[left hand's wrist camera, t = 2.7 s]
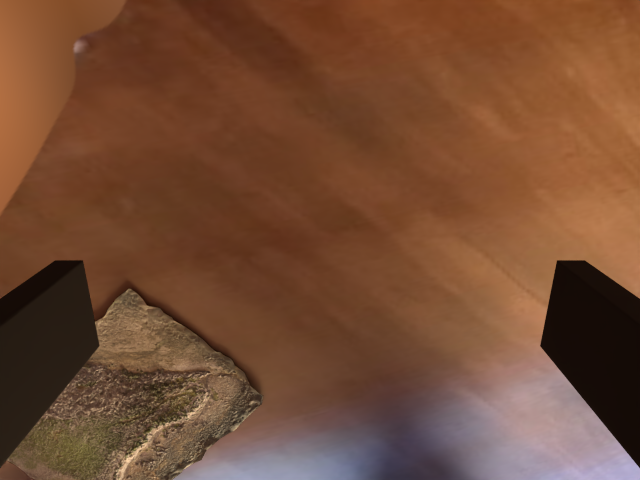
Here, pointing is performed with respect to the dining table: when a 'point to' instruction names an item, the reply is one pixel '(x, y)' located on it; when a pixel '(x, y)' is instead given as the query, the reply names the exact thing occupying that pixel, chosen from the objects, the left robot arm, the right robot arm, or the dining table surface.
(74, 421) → the slab
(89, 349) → the left robot arm
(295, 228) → the dining table surface
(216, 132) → the dining table surface
